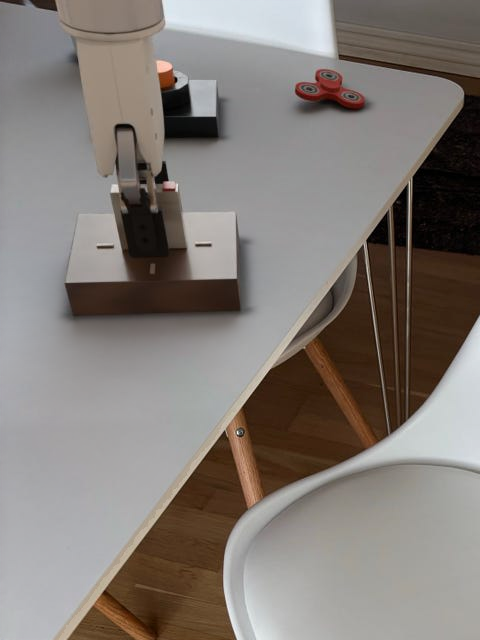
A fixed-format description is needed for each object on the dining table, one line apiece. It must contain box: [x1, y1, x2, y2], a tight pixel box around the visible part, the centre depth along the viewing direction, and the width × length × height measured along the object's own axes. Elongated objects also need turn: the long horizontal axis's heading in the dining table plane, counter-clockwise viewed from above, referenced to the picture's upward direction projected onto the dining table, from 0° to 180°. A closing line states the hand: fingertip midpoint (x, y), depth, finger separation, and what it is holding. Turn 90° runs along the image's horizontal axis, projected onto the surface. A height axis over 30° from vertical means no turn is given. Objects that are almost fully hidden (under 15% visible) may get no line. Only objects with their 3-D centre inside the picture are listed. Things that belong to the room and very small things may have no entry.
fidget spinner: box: [294, 68, 366, 110], centre depth 118 cm, size 8×7×1 cm
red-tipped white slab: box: [109, 181, 187, 249], centre depth 87 cm, size 6×2×5 cm, turn 99°
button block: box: [160, 69, 220, 139], centre depth 111 cm, size 12×10×4 cm
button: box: [156, 59, 175, 88], centre depth 109 cm, size 4×4×2 cm
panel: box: [64, 211, 242, 316], centre depth 90 cm, size 14×12×3 cm
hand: (152, 229), depth 88 cm, fingers open, 7 cm apart
